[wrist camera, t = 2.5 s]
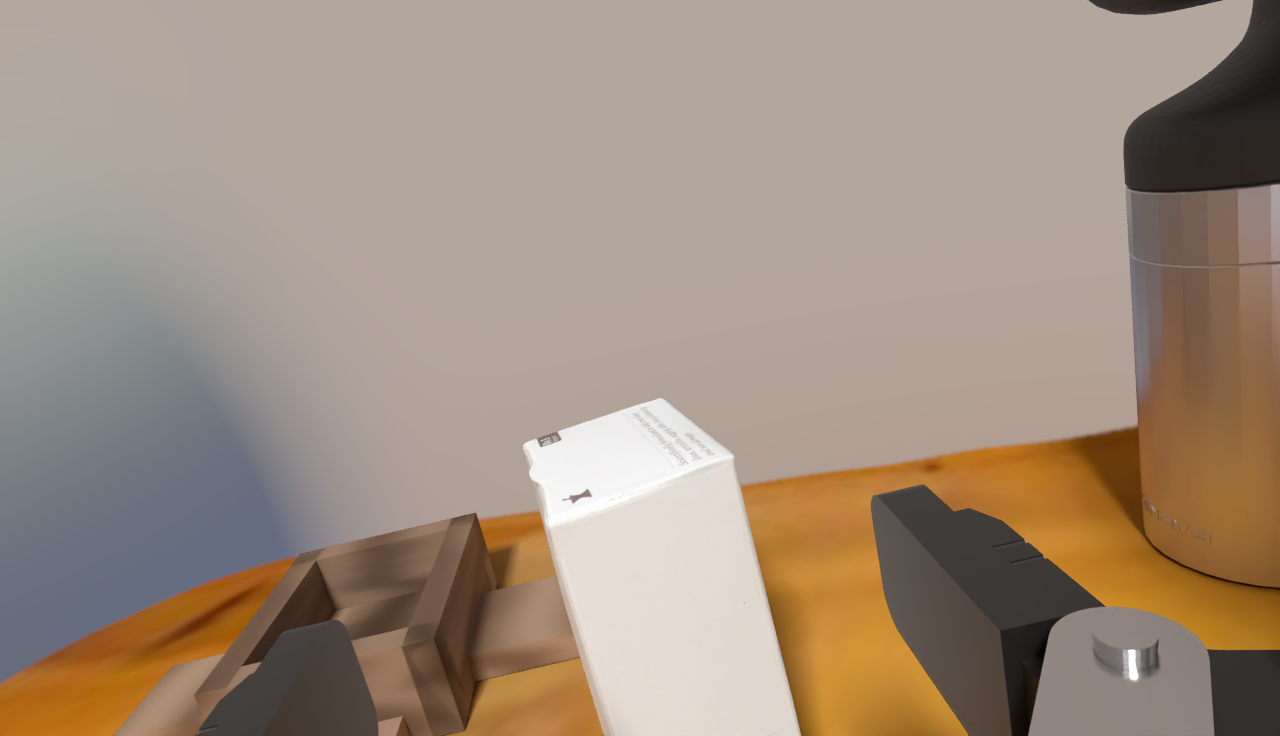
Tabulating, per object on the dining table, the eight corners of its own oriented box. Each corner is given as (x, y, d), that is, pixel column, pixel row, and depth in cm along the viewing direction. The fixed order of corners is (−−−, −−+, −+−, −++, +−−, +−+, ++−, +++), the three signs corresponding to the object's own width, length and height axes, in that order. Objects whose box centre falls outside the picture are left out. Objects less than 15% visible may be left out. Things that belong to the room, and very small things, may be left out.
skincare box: (837, 872, 25) (756, 456, 21) (663, 948, 24) (543, 523, 20) (742, 710, 33) (670, 386, 29) (608, 761, 32) (515, 431, 28)
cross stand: (611, 517, 53) (594, 452, 52) (627, 785, 30) (598, 680, 29) (248, 602, 53) (222, 539, 52) (-16, 937, 30) (-74, 838, 29)
